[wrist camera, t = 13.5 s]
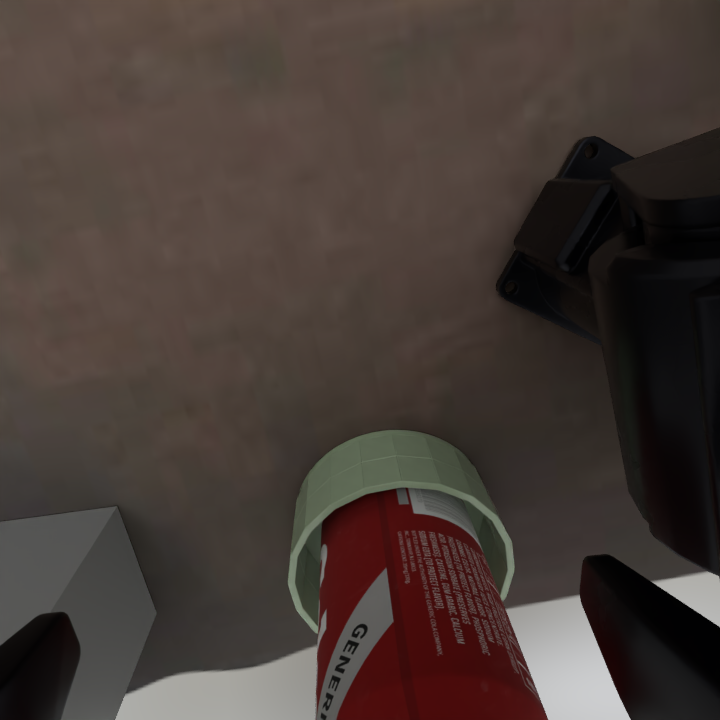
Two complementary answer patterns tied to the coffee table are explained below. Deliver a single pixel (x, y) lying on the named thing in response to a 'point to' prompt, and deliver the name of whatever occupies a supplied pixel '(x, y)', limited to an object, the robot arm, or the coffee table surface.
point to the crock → (379, 473)
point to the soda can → (414, 617)
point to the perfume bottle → (80, 598)
